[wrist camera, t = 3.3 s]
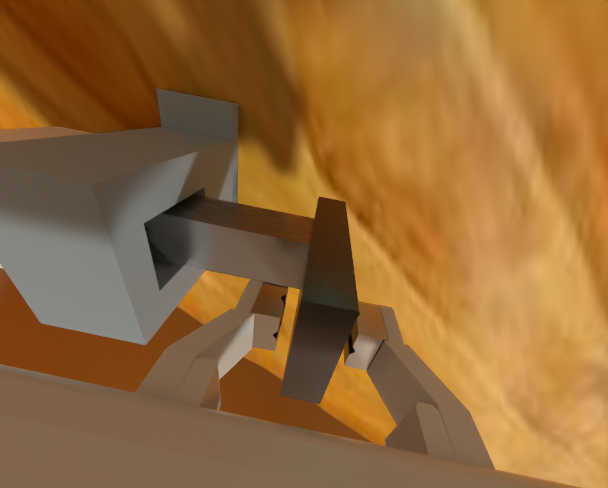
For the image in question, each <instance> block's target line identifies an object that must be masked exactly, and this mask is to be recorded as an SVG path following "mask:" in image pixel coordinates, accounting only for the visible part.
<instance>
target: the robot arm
mask: <svg viewBox="0 0 608 488" xmlns="http://www.w3.org/2000/svg"><path fill="white" fill-rule="evenodd" d="M287 293H288V287H286V286H282V285H277V284H273V283H269V282H263V281H259V280H254V279H251V280H250V281H249V282H248V284H247V286H246V288H245V290H244V292H243V294H242V296H241V298H240V300H239V302H238V304H237V306H236V308H235V309H230V310H228V311H227V312H225V313H223V314H222V315H220V316H218V317H217V318H215V319H213V320H212V321H210V322H208V323H207V324H205V325H204V326H202V327H200V328H199V329H197V330H195V331H194V332H192V333H190V334H189V335H187V336H185V337H184V338H182V339H180V340H179V341H177V342H175V343H174V344H172V345H170V346H169V347H167V348H166V350H165V351H164V353H163V354H162V355H161V357H160V358H159V360H158V361H157V362H156V364H155V365H154V367H153V368H152V369H151V371H150V372H149V374H148V375H147V376H146V378H145V379H144V381H143V382H142V384H141V385H140V386H139V388H138V389H137V391H136V392H135V393H133V392H128V391H123V390H118V389H114V388H109V387H104V386H100V385H95V384H90V383H86V382H80V381H76V380H71V379H67V378H62V377H57V376H53V375H48V374H43V373H38V372H34V371H29V370H24V369H20V368H15V367H10V366H5V365H1V364H0V488H581V487H576V486H571V485H566V484H562V483H557V482H552V481H548V480H543V479H538V478H533V477H529V476H524V475H519V474H515V473H510V472H505V471H500V470H496V469H495V468H494V465H493V463H492V461H491V459H490V456H489V454H488V452H487V450H486V448H485V445H484V443H483V441H482V439H481V436H480V434H479V432H478V430H477V427H476V425H475V423H474V421H473V419H472V416H471V414H470V412H469V411H468V410H467V408H466V407H465V406H464V405H463V404H462V403H461V402H460V401H459V400H458V399H457V398H456V397H455V395H454V394H453V393H452V392H451V391H450V390H449V389H448V388H447V387H446V386H445V385H444V384H443V382H442V381H441V380H440V379H439V378H438V377H437V376H436V375H435V374H434V373H433V372H432V371H431V369H430V368H429V367H428V366H427V365H426V364H425V363H424V362H423V361H422V360H421V359H420V358H419V357H418V355H417V354H416V353H415V352H414V351H413V350H412V349H411V348H410V347H409V346H408V345H404V342H403V339H402V336H401V333H400V330H399V326H398V323H397V320H396V317H395V313H394V310H393V309H392V307H387V306H381V305H376V304H370V303H365V302H360V301H358V306H359V313H358V316H357V318H356V320H355V323H354V325H353V327H352V330H351V332H350V334H349V337H348V339H347V341H346V344H345V347H344V365H345V366H349V367H353V368H358V369H362V370H366V371H367V373H368V375H369V377H370V379H371V380H372V382H373V384H374V386H375V387H376V389H377V391H378V393H379V394H380V396H381V398H382V399H383V401H384V403H385V405H386V406H387V408H388V410H389V412H390V413H391V415H392V417H393V419H394V420H395V422H396V424H397V426H396V427H395V429H394V430H393V431H392V432H391V433H390V434H389V435H388V436H387V437H386V439H385V442H386V446H383V445H378V444H373V443H368V442H364V441H359V440H354V439H349V438H345V437H340V436H335V435H330V434H326V433H321V432H317V431H312V430H307V429H303V428H298V427H293V426H288V425H284V424H279V423H274V422H270V421H264V420H260V419H255V418H251V417H246V416H241V415H236V414H232V413H227V412H223V411H218V410H219V407H220V388H219V379H220V378H221V377H222V376H223V375H225V374H226V372H228V371H229V370H230V369H231V368H232V367H233V366H234V365H235V364H236V363H237V362H238V361H239V360H240V359H241V358H242V357H243V356H245V355H246V354H247V353H248V352H249V351H250V350H251V349H252V347H256V348H261V349H267V350H273V351H275V347H276V343H277V339H278V336H279V330H280V326H281V323H282V319H283V314H284V310H285V304H286V302H285V301H286V297H287Z"/></svg>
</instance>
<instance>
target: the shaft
mask: <svg viewBox="0 0 608 488" xmlns="http://www.w3.org/2000/svg"><path fill="white" fill-rule="evenodd" d="M144 227H145V231H146V235H147V239H148V244H149V248H150V252H151V256H152V259H155V260H160V261H165V262H169V263H174V264H179V265H184V266H189V267H194V268H199V269H204V270H209V271H213V272H218V273H223V274H228V275H233V276H238V277H243V278H248V279H254V280H259V281H263V282H269V283H273V284H277V285H282V286H287V287H292V288H297V289H300V292H299V298H298V303H297V308H296V314H295V319H294V324H293V330H292V335H291V340H290V346H289V351H288V356H287V361H286V367H285V372H284V377H283V383H282V388H281V393H280V395H281V396H284V397H289V398H294V399H298V400H303V401H308V402H313V403H317V404H320V402H321V400H322V398H323V395H324V393H325V391H326V388H327V386H328V384H329V381H330V379H331V377H332V374H333V372H334V370H335V367H336V365H337V363H338V360H339V358H340V356H341V353H342V351H343V349H344V346H345V344H346V341H347V339H348V337H349V334H350V332H351V330H352V327H353V325H354V323H355V320H356V318H357V316H358V313H359V306H358V298H357V290H356V282H355V275H354V267H353V259H352V251H351V243H350V235H349V227H348V219H347V211H346V203H345V202H344V201H339V200H334V199H329V198H324V197H319V199H318V203H317V208H316V213H315V218H309V217H304V216H299V215H294V214H289V213H284V212H279V211H274V210H269V209H264V208H259V207H254V206H249V205H244V204H239V203H234V202H229V201H224V200H219V199H214V198H209V197H204V196H199V195H194V194H192V195H190V196H189V197H187V198H185V199H184V200H182V201H180V202H179V203H177V204H175V205H174V206H172V207H170V208H169V209H167V210H165V211H164V212H162V213H160V214H158V215H157V216H155V217H153V218H152V219H150V220H148V221H147V222H145V223H144Z"/></svg>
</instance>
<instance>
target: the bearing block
mask: <svg viewBox="0 0 608 488" xmlns="http://www.w3.org/2000/svg"><path fill="white" fill-rule="evenodd" d="M156 93H157V100H158V106H159V113H160V120H161V126H162V127H155V128H144V129H134V130H123V131H113V132H102V133H92V134H82V135H71V136H61V137H50V138H40V139H30V140H19V141H9V142H0V264H1V266H2V267H3V269H4V270H5V271H6V273H7V274H8V276H9V277H10V279H11V280H12V281H13V283H14V285H15V286H16V288H17V289H18V290H19V292H20V293H21V295H22V296H23V298H24V299H25V301H26V302H27V304H28V305H29V306H30V308H31V310H32V311H33V312H34V314H35V315H36V317H37V318H38V320H39V321H40V323H43V324H48V325H52V326H57V327H62V328H67V329H71V330H76V331H81V332H86V333H91V334H95V335H100V336H105V337H110V338H115V339H119V340H124V341H129V342H134V343H138V344H144V345H146V344H147V343H148V341H149V340H150V339H151V338H152V336H153V335H154V334H155V333H156V331H157V330H158V329H159V328H160V326H161V325H162V324H163V323H164V321H165V320H166V319H167V318H168V316H169V315H170V314H171V313H172V311H173V310H174V309H175V308H176V306H177V305H178V304H179V303H180V301H181V300H182V299H183V298H184V296H185V295H186V294H187V293H188V291H189V290H190V289H191V288H192V286H193V285H194V284H195V283H196V281H197V280H198V279H199V278H200V276H201V275H202V274H203V273H204V272H205V270H204V269H199V268H194V267H189V266H184V265H179V264H174V263H169V262H165V261H160V260H155V259H152V256H151V252H150V248H149V244H148V239H147V235H146V231H145V227H144V223H145V222H147V221H148V220H150V219H152V218H153V217H155V216H157V215H158V214H160V213H162V212H164V211H165V210H167V209H169V208H170V207H172V206H174V205H175V204H177V203H179V202H180V201H182V200H184V199H185V198H187V197H189V196H190V195H192V194H194V195H199V196H204V197H209V198H214V199H219V200H224V201H229V202H234V203H237V198H238V104H237V103H232V102H227V101H222V100H217V99H211V98H206V97H201V96H196V95H191V94H186V93H181V92H175V91H170V90H165V89H157V88H156Z"/></svg>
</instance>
